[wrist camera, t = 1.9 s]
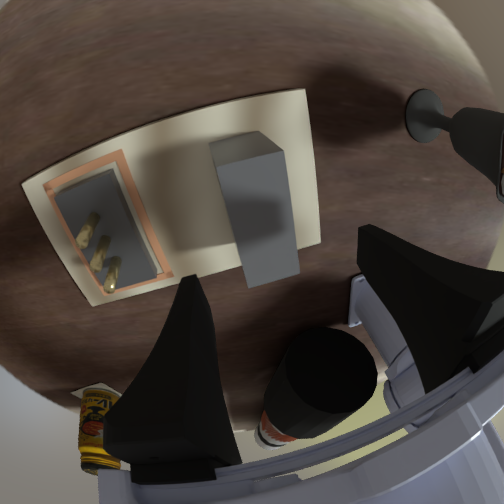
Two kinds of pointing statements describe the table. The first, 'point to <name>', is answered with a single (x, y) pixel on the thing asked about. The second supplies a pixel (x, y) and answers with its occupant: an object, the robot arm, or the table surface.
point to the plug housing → (257, 205)
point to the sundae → (462, 133)
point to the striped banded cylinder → (316, 387)
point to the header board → (166, 196)
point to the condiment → (95, 427)
